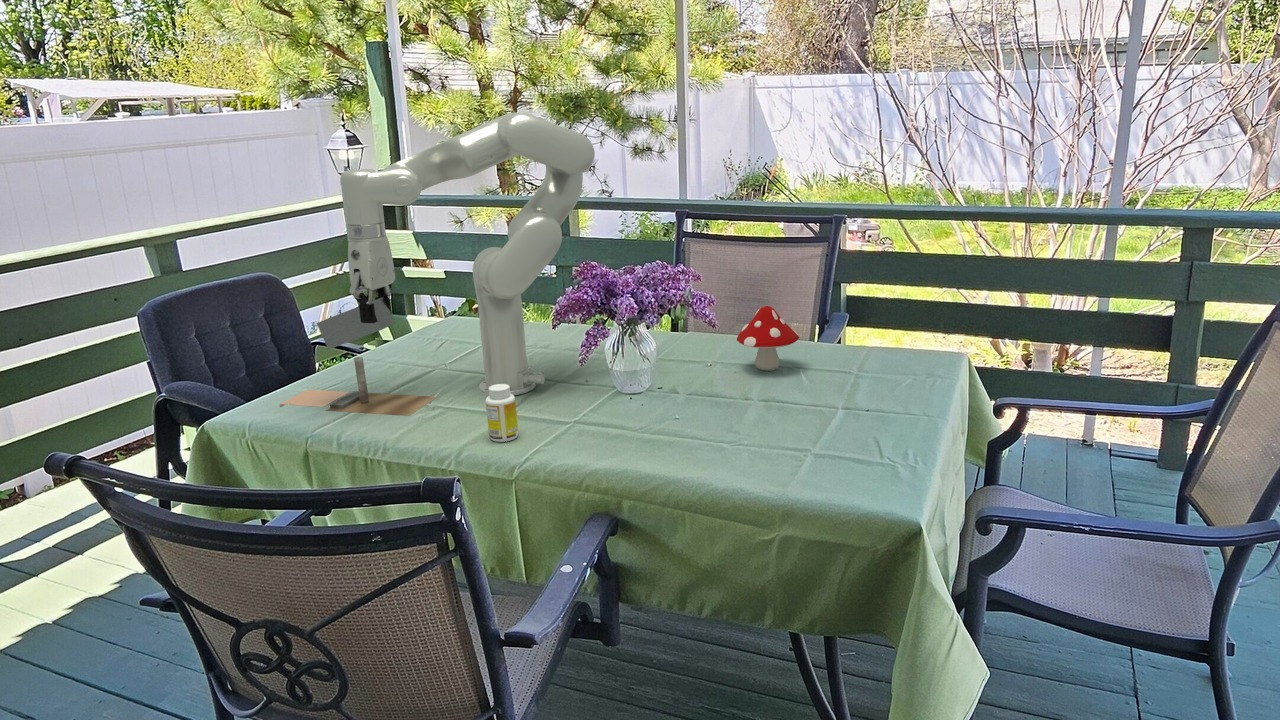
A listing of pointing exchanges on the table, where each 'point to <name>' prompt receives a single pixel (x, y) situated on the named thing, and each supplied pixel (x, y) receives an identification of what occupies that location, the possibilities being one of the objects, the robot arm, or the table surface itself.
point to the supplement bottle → (501, 413)
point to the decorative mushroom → (767, 337)
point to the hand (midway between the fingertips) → (376, 318)
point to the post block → (377, 399)
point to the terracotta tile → (314, 398)
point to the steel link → (354, 324)
